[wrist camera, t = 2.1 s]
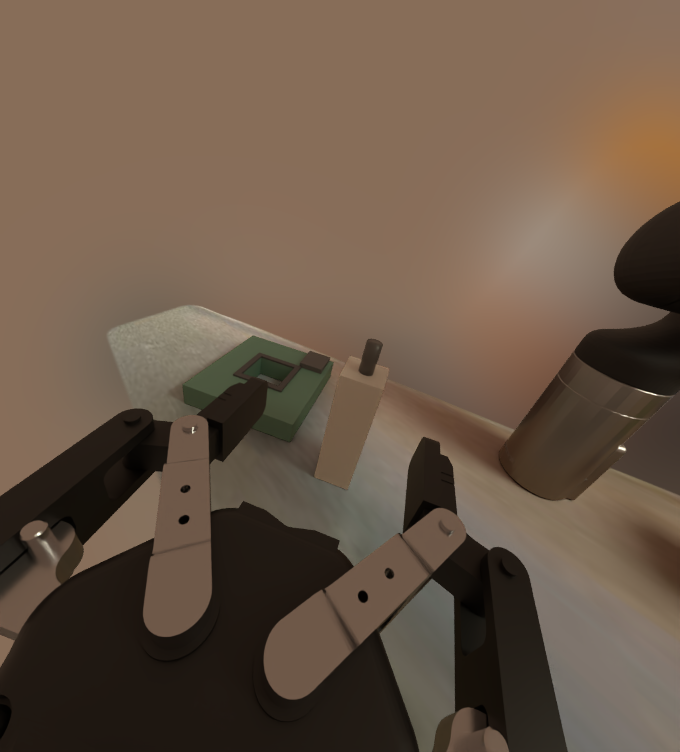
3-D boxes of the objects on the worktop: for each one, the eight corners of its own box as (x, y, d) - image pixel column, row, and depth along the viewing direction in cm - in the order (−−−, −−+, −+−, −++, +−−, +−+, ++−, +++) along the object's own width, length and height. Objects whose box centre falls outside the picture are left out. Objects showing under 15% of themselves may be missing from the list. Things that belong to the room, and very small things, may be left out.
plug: (355, 463, 35) (399, 341, 26) (347, 490, 32) (394, 360, 23) (324, 452, 36) (357, 328, 27) (313, 477, 32) (347, 344, 23)
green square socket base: (330, 376, 50) (334, 358, 48) (289, 442, 36) (293, 419, 34) (252, 350, 52) (253, 331, 50) (184, 402, 38) (181, 379, 36)
